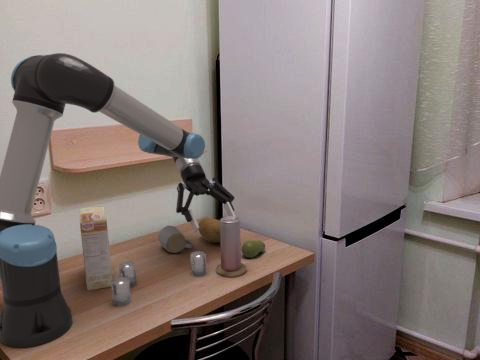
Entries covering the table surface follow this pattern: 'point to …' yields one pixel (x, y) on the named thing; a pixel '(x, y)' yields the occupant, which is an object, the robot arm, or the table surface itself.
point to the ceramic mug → (173, 239)
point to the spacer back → (128, 272)
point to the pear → (252, 248)
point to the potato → (210, 229)
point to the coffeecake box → (95, 247)
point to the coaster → (230, 274)
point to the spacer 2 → (198, 263)
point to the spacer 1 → (120, 291)
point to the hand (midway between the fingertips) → (216, 225)
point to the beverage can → (230, 243)
